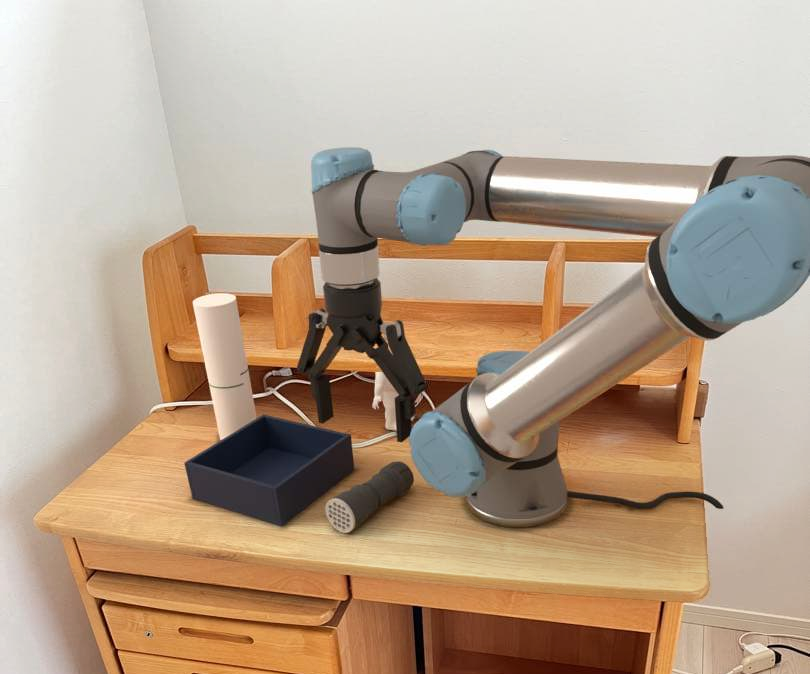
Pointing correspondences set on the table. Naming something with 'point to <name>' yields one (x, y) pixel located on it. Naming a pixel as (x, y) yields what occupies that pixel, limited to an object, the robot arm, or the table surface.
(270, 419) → the bin
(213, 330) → the cylindrical container
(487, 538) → the table surface
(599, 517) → the table surface
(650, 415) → the table surface
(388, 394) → the toy creature
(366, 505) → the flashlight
